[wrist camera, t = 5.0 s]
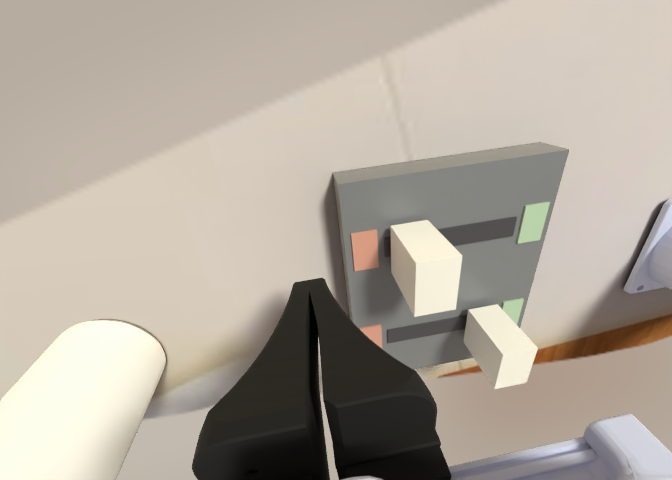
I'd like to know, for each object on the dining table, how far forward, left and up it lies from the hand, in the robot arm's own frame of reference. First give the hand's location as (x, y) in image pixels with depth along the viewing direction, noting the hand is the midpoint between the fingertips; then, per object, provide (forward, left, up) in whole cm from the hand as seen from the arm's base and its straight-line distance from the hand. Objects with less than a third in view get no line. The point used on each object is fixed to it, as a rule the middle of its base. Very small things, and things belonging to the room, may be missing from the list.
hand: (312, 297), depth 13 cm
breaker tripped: (-6, 0, -3) cm, 6 cm away
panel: (-8, +4, -5) cm, 10 cm away
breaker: (-11, +7, -3) cm, 13 cm away
